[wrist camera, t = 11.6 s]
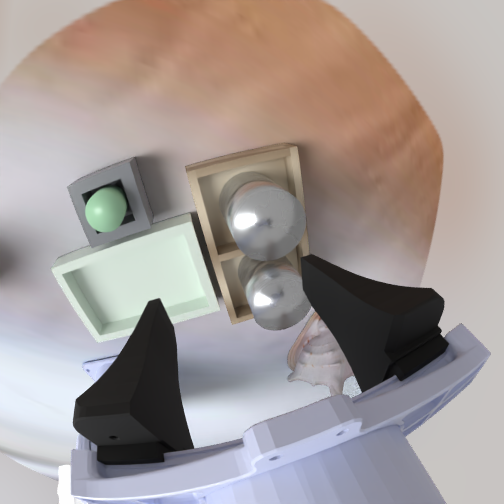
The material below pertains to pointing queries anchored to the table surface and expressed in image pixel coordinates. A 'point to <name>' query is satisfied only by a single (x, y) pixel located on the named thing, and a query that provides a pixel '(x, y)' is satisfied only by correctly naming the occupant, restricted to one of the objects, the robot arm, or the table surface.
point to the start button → (107, 208)
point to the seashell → (318, 357)
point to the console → (132, 185)
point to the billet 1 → (261, 216)
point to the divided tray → (215, 227)
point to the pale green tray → (138, 278)
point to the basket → (66, 486)
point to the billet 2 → (273, 292)
